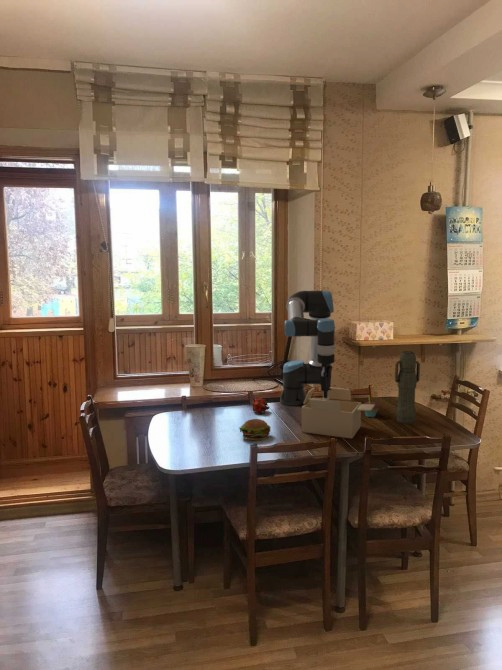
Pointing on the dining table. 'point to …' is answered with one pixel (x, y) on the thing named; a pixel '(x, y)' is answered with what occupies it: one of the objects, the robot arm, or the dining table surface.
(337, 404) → the flap near
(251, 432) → the food
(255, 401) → the dragon fruit
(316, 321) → the robot arm
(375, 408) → the cupcake
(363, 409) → the flap far end
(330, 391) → the flap far
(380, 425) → the dining table surface
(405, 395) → the thermos
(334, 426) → the carton
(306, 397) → the flap arm end
